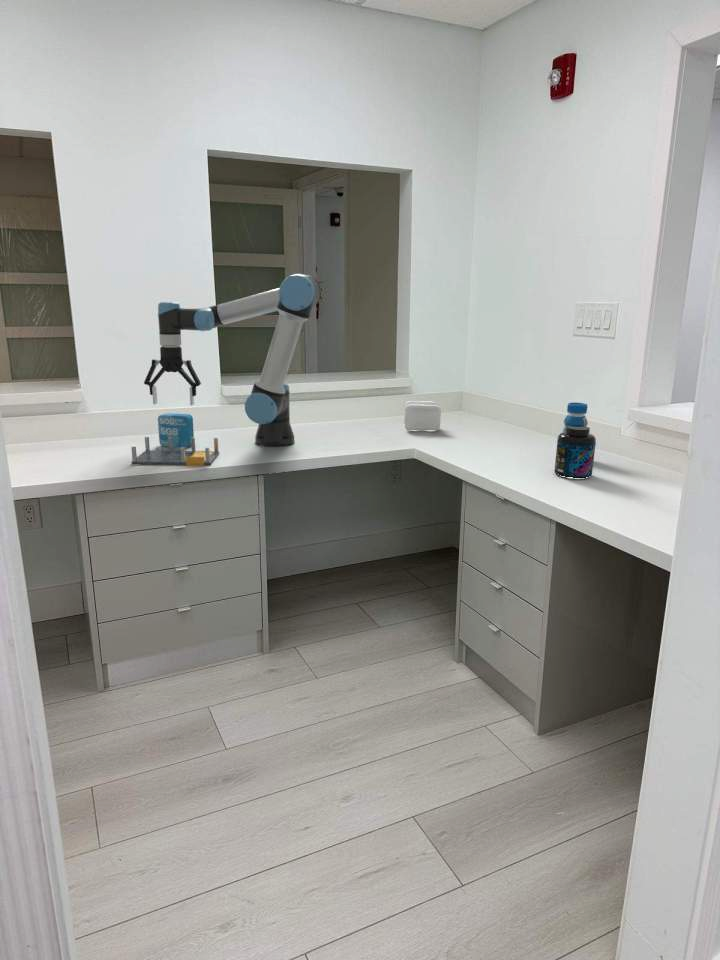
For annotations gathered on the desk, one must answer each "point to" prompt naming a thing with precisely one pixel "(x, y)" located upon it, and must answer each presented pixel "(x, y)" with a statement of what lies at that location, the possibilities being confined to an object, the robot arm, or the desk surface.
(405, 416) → the cable organizer
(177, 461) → the panel rack
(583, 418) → the beverage bottle
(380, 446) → the desk surface
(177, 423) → the data package
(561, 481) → the desk surface
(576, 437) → the container
